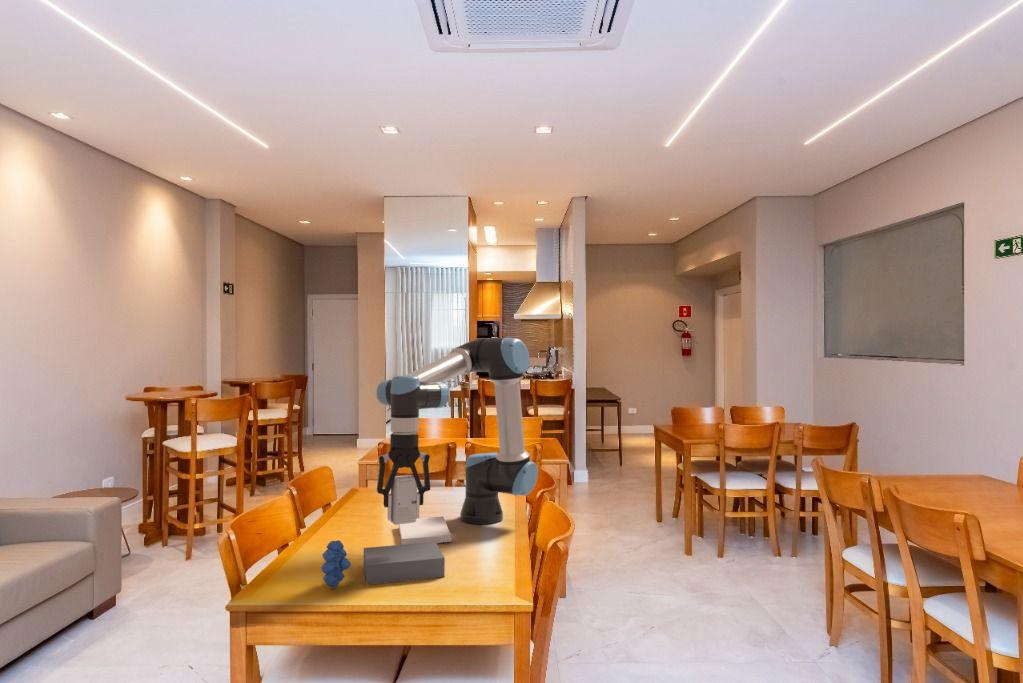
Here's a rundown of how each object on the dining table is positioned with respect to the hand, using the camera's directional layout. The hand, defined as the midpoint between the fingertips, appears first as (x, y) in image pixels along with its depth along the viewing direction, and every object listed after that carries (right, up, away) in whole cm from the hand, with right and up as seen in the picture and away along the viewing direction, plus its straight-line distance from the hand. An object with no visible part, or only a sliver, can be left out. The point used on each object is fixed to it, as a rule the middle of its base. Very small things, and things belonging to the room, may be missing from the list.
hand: (403, 518), depth 163 cm
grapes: (-14, -14, -12) cm, 23 cm away
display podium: (0, -14, 0) cm, 14 cm away
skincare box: (0, -1, 0) cm, 1 cm away
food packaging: (+1, -16, +32) cm, 36 cm away
